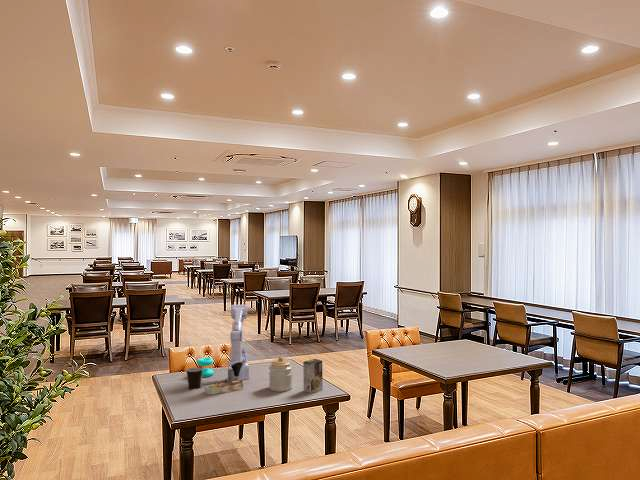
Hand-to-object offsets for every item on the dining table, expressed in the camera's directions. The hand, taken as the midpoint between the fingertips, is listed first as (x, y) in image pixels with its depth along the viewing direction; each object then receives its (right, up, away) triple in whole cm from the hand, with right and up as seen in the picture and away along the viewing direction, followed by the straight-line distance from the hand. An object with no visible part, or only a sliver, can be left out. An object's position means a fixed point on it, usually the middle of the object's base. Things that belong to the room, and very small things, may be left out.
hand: (236, 376), depth 257 cm
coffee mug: (-23, -7, +2) cm, 24 cm away
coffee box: (+43, -6, -5) cm, 44 cm away
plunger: (-4, -3, -2) cm, 5 cm away
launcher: (-4, -6, -3) cm, 8 cm away
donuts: (-24, -7, +24) cm, 34 cm away
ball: (-10, -4, -7) cm, 13 cm away
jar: (+25, -7, -1) cm, 26 cm away
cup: (-11, -6, -8) cm, 15 cm away
